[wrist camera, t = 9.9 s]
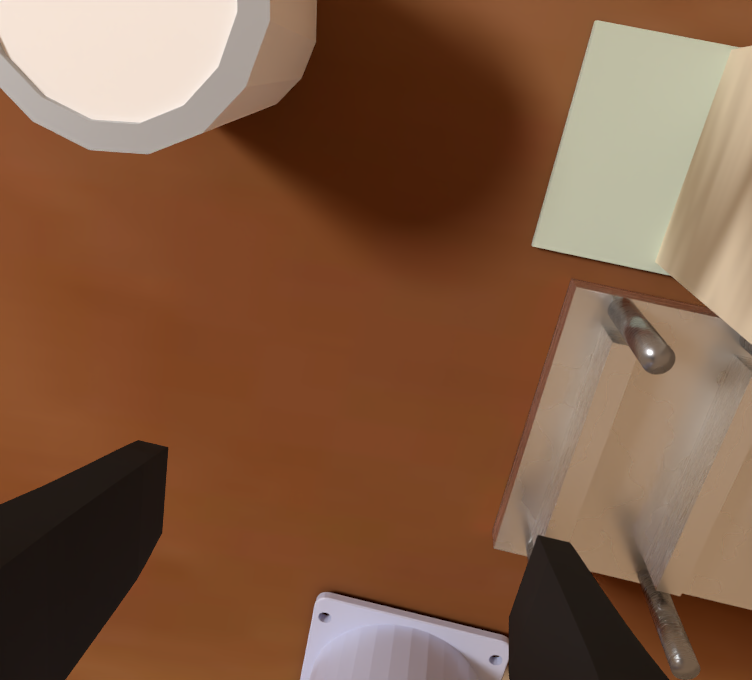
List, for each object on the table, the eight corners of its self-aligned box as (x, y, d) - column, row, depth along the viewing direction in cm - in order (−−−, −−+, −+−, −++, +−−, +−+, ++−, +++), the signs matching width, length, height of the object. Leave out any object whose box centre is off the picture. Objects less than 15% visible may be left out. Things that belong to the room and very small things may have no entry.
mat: (854, 312, 20) (860, 316, 19) (531, 244, 20) (532, 246, 20) (963, 91, 17) (972, 92, 17) (594, 21, 18) (596, 20, 17)
